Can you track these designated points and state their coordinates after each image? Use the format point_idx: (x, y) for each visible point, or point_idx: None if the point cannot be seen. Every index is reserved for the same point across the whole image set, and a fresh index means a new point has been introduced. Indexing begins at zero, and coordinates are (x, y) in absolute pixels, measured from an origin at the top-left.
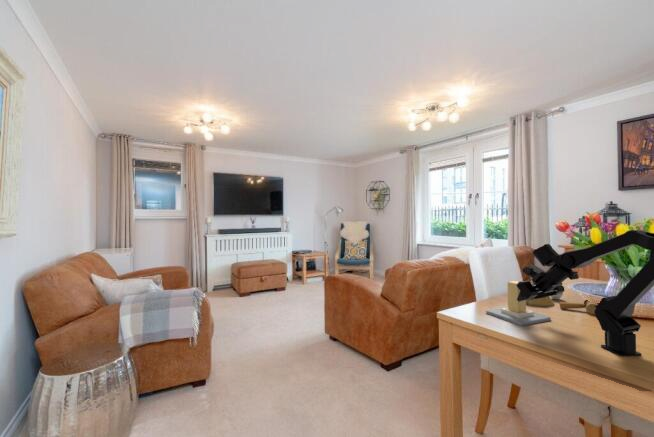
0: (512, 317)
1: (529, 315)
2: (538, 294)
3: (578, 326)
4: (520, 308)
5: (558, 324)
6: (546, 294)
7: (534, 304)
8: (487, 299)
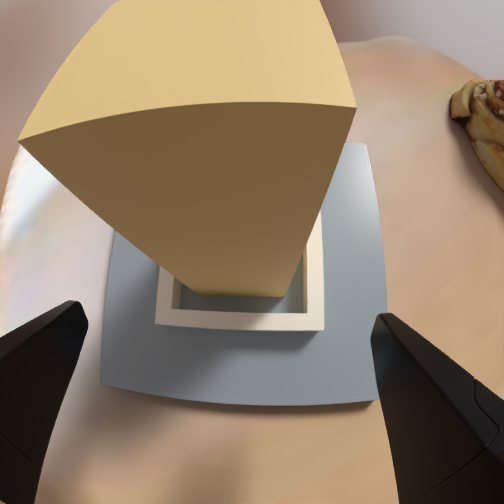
0: (138, 297)
1: (272, 331)
2: (403, 391)
3: None
4: (215, 285)
5: (344, 458)
6: (412, 500)
7: (491, 171)
8: (348, 43)
